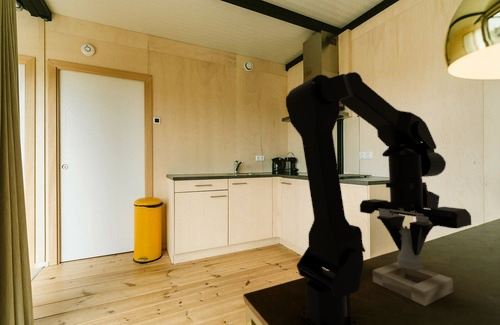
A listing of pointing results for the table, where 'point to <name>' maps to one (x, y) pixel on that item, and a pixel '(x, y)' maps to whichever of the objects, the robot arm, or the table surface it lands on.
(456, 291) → the table surface
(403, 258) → the rook chess piece
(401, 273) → the socket collar
